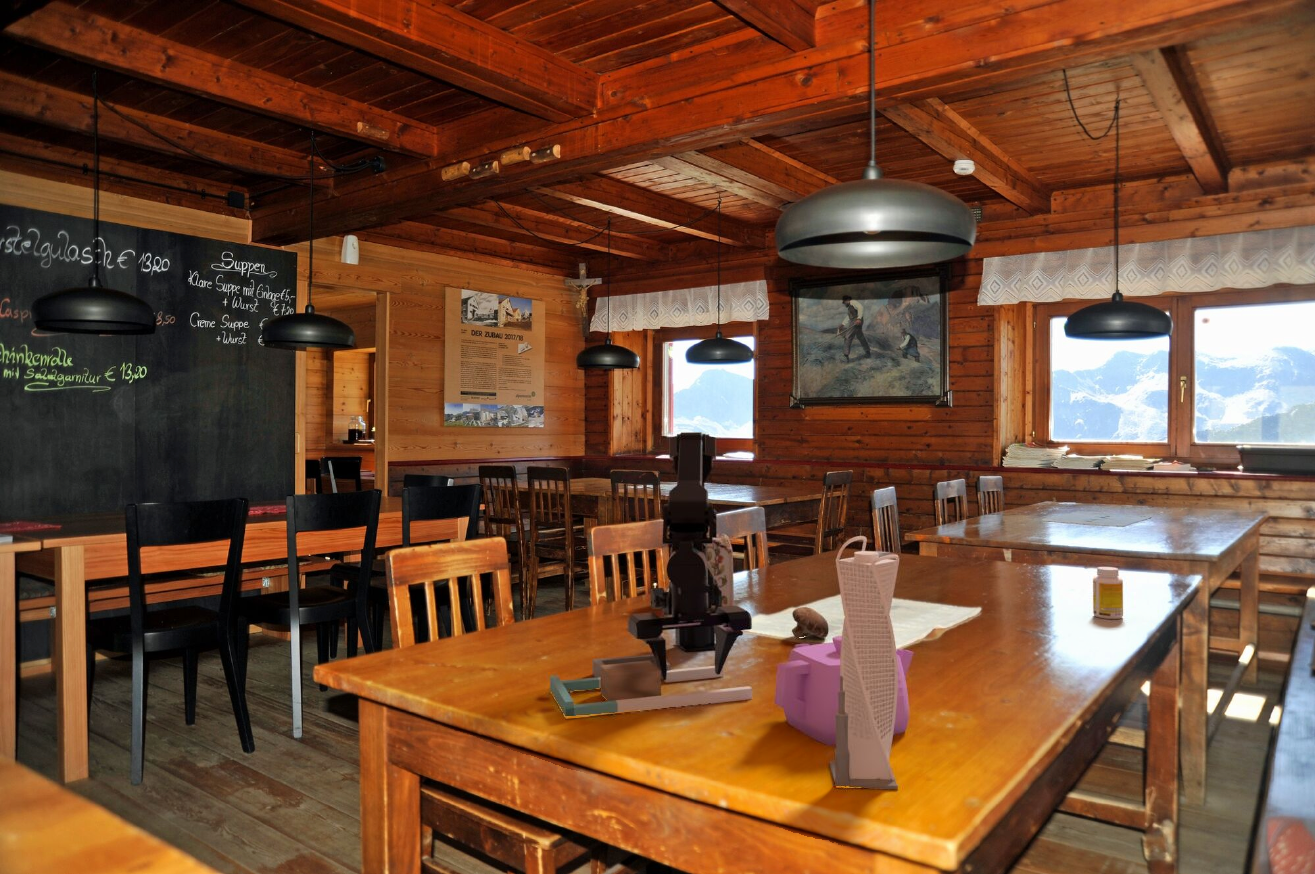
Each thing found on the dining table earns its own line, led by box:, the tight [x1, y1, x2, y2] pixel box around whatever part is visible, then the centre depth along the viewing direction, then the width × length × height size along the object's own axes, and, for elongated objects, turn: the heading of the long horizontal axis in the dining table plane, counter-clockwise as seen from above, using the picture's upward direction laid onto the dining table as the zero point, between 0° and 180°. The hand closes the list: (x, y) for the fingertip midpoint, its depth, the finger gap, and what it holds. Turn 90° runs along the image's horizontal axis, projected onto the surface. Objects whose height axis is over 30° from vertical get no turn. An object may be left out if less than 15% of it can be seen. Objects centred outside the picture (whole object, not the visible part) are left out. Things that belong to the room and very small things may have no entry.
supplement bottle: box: [1092, 566, 1124, 620], centre depth 183 cm, size 6×6×10 cm
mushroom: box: [791, 606, 829, 639], centre depth 169 cm, size 8×8×6 cm
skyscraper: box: [828, 535, 900, 790], centre depth 104 cm, size 8×8×28 cm
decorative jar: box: [705, 531, 735, 607], centre depth 201 cm, size 12×12×18 cm
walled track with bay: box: [549, 653, 753, 716], centre depth 138 cm, size 29×21×2 cm
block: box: [600, 661, 662, 701], centre depth 134 cm, size 8×6×4 cm
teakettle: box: [774, 635, 914, 747], centre depth 120 cm, size 17×17×12 cm
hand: (690, 676), depth 137 cm, fingers open, 8 cm apart
